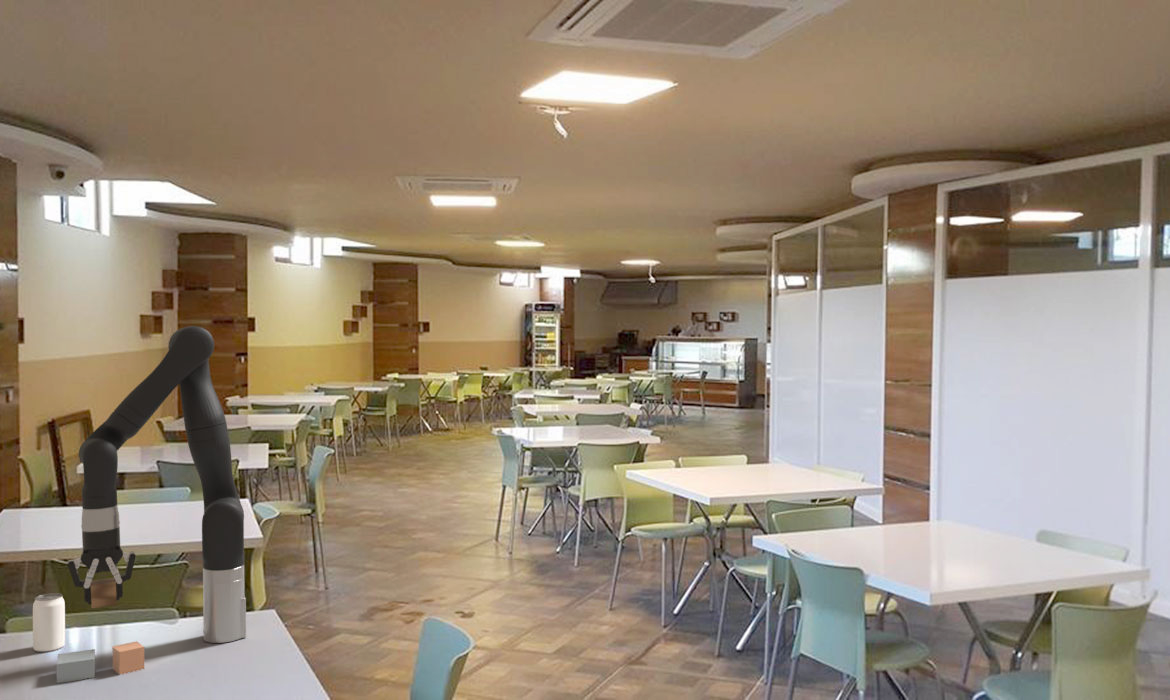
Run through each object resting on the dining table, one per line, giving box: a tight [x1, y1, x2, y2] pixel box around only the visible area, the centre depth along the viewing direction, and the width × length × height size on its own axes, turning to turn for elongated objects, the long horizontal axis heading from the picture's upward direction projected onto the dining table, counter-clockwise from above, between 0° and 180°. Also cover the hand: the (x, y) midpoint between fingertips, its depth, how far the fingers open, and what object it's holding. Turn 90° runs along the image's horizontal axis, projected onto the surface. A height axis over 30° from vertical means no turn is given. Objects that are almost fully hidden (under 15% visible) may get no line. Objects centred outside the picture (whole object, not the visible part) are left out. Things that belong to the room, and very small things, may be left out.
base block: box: [56, 648, 96, 684], centre depth 199 cm, size 7×7×4 cm
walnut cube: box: [90, 577, 118, 609], centre depth 210 cm, size 5×5×5 cm
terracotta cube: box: [112, 640, 145, 675], centre depth 203 cm, size 5×5×5 cm
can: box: [32, 592, 66, 653], centre depth 216 cm, size 6×6×12 cm
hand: (103, 601), depth 210 cm, fingers closed on walnut cube, 5 cm apart
